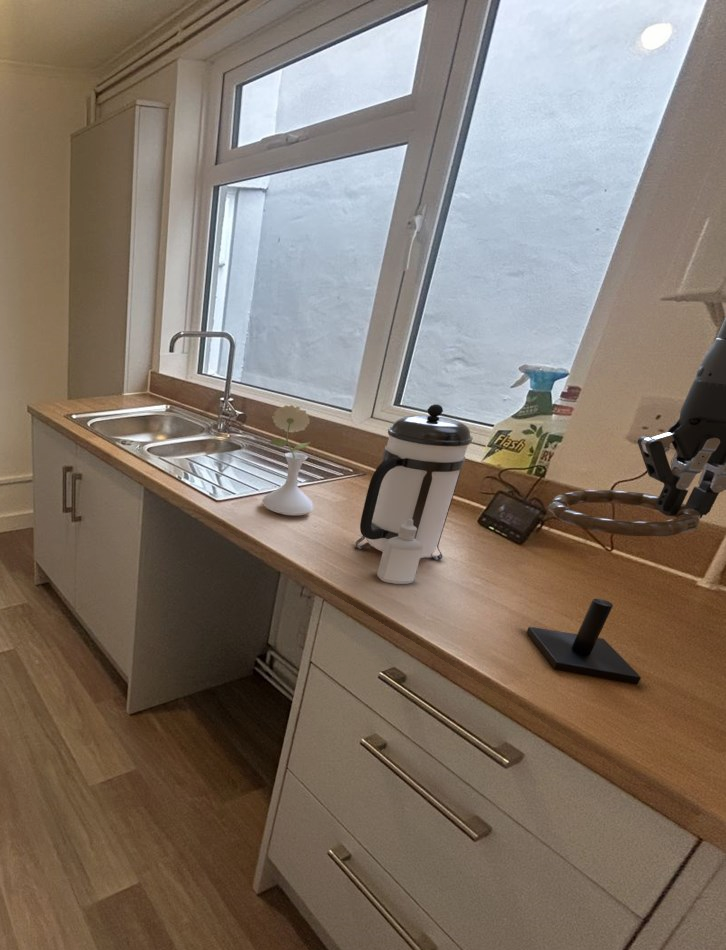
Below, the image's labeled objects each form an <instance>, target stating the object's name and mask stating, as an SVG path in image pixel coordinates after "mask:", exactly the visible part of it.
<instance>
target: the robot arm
mask: <svg viewBox="0 0 726 950" xmlns="http://www.w3.org/2000/svg"><path fill="white" fill-rule="evenodd" d="M637 444H638V445H637V446H638V447H639V450H640V451H639V452H640V454H641V456H642V457H641V458H642V459H643V463H644V466H645V469H646V471H647V476H649V477H650V478H652V479H654V480H656V481H658V482H660V483H662V484H663V487H662V489H661V492H660V494H659V498H658V500H657V503H656V507H657V508H659V511H658V512H659V513H661V514H663V516H666V517H674V516H676V515H677V512H678V511H679V509H680V507H681V505H682V503H683V504H684V501H685V499H686V497H687V495H688V492H689V490H688V488H690V487H691V484H692V483H693V481H694V479H695V478H696V476H697V475H698V474H701V475H700V477H699V478H698V482H697V483H698V486H693V488H692V491H691V493H690V494H689V496H688V499H687V501H686V503H685V505H687V506H689V507H691V508H693V509H695V510H697V511H698V512H699V513H700V519H702V517H703V516H706V515H708V514H709V513H710V512H711V511H712V508H713V506H714V504H715V502H716V500H717V498H718V496H719V494H720V493H723V492H724V491H726V317H725V318H724V320H723V322H722V324H721V327H720V329H719V331H718V333H717V335H716V338H715V340H714V341H713V343H712V345H711V347H710V348H709V349H708V350H707V352H706V354H705V356H704V357H703V359H702V362H701V364H700V366H699V368H698V369H697V371H696V375H695V377H694V379H693V382H692V384H691V385H690V388H689V391H688V393H687V394H686V398H685V400H684V401H683V404H682V406H681V407H680V412H679V418H678V420H677V421H676V422H675V423H674V424H673V425H672V426H670V427H669V429H668V431H667V432H664V433H662V434H658V435H655V436H652V437H650V436H648V435H643V436H640V437H639V438H638V439H637ZM671 444H672V447H673V448H674V450H675V453H674V455H673V457H672V458H671V460H670V463H669V460H668V457H667V454H666V453H668V452H669V451H670V446H671Z"/></svg>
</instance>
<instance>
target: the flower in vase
mask: <svg viewBox="0 0 726 950" xmlns="http://www.w3.org/2000/svg"><path fill="white" fill-rule="evenodd" d="M271 418H272V420H273V421H272V422H273V423H274V426H275V427H276V428H278V430H284V431H285V432H286V438H285V440H284V439H282V438H281V437H276V438H273V439H272V440H270V441H269V442H268V444H269V445H273V446H276V447H279V448H283V447H285V446H288V449H289V450H290V452H285V453H284V454H283V455H284V457H285V459H286V461H287V474H286V475H287V476H286V481H285V483H284V484H283V485H282V486H281V487H278V488H277V489H274V490H272V491H270V492H269V493H267V494H266V495H265V496H264V497H263V498H262V504H263V507H265V508H266V509H268V510H269V511H272V512H274V513H277V514H279V515H284V516H303V515H308V514H310V513H312V511H314V508H315V506H314V503H313V501H312V499H310V498H309V496H307V494H306V493H305V492H303V491H302V489H300V488H299V486H298V477H299V473H300V470H301V468H302V465H303V464H304V463H305V461H306V460H307V459H308V458H309V456H308V455H307V454H305V453H301V452H294V451H299V450H303V449H304V448H307V447H308V446H309V445H310V444H311V441H308V442H303V443H298V444H297V445H296V446H295V447H293V448H292V446H291V445H290V442H289V433H295V432H296V433H299V432H300V431H306V428H307V427H308V425H310V424H311V422H310V421H311V419H310V417H309V413H307V411H306V410H303V409H301V407H300V406H294V405H292V404H291V405H288V404H287V405H286V404H285V405H284V406H283V407H280V406H279V407H278V408H277V409H275V412H273V415H271Z"/></svg>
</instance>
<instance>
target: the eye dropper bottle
mask: <svg viewBox="0 0 726 950" xmlns="http://www.w3.org/2000/svg"><path fill="white" fill-rule="evenodd" d="M416 531H417V528H416V527H415V526H413V520H412V519H408V521H407V523H406V524H403V525H401V527H400V530H399V534H398V536H397V537H393V538H390V539H388V540H387V541H386V543H385V546H384V550H383V552H382V553H381V558H380V560H379V561H380V562H379V565H378V570H377V573H376V575H377V577H378V578H379V579H380V580H381V581H382V582H384V583H388V584H393V585H394V584H395V585H408V584H411V583H414V580H415V577H416V573H417V570H418V566H419V563H420V560H421V558H420V556H421V553H422V549H423V546H422V544H421V543H420V542H419V541H418V540H416V539H414V538H415V534H416Z"/></svg>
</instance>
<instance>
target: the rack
mask: <svg viewBox="0 0 726 950" xmlns="http://www.w3.org/2000/svg"><path fill="white" fill-rule="evenodd" d="M613 606H614V604H613V603H612V602H610V601H608V600H606V599H603V598H602V599H601V598H593V599H592V600H591V602H590V605H589V607H588V609H587V611H586V614H585V616H584V618H583V621H582V623H581V624H580V627H579V629H578V631H577V634H576V633H573V632H565V631H558V630H552V629H547V628H541V627H535V626H528V627H527V630H526V635H527V636H528V637H529V639H530V640H531V641H532V642H533V644H534V645H535V646H536V648H537V649H538V650H539V652H540V653H541V654H542V655H543V657H544V658H545V660H546V661H547V662H548V663H549V664H550V666H551V667H552V669H553V670H557V671H563V672H568V673H574V674H578V675H585V676H589V677H596V678H601V679H607V680H611V681H617V682H623V683H629V684H634V685H639V683H640V681H641V679H642V676H640V675H639V673H638V672H637V671H635V669H634V668H633V667H632V666H631V665H630V664H629V662H627V661H626V660H625V659H624V658H623V657H622V656H621V654H619V653H618V652H617V651H616V650H615V648H613V647H612V645H611V644H609V643H608V641H607V640H605V638H601V637H600V634H601V632H602V630H603V628H604V627H605V623H606V621H607V619H608V617H609V616H610V613H611V611H612V609H613Z"/></svg>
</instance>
